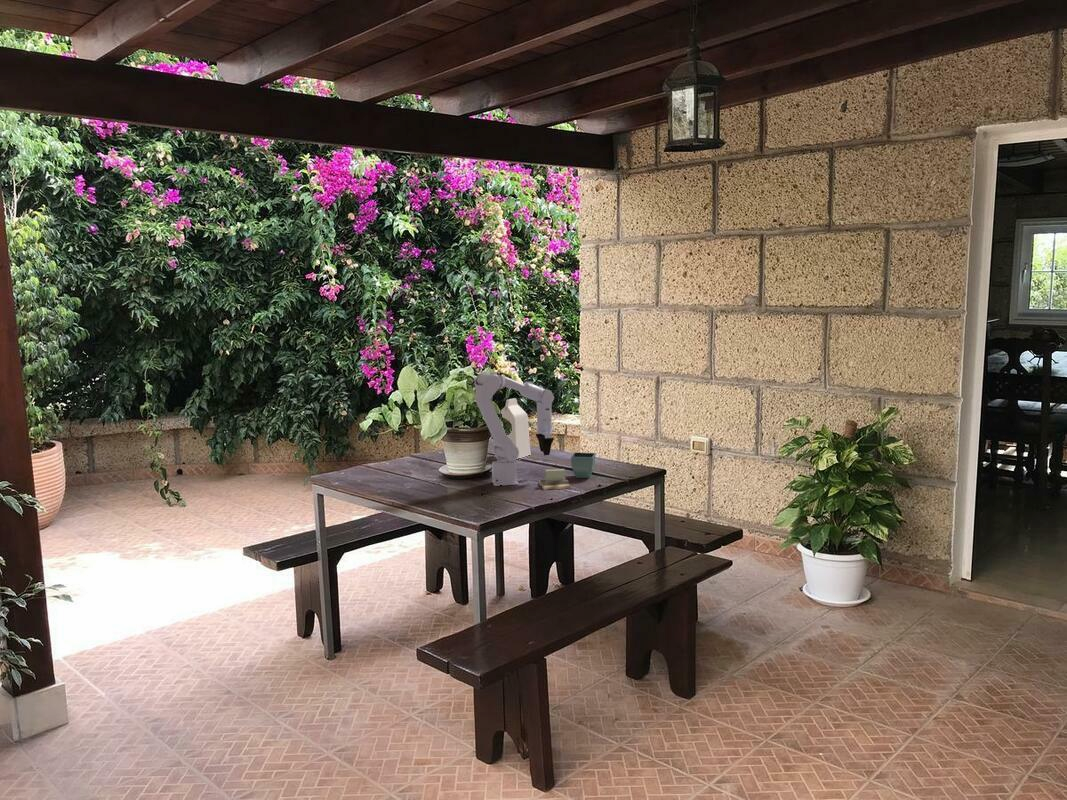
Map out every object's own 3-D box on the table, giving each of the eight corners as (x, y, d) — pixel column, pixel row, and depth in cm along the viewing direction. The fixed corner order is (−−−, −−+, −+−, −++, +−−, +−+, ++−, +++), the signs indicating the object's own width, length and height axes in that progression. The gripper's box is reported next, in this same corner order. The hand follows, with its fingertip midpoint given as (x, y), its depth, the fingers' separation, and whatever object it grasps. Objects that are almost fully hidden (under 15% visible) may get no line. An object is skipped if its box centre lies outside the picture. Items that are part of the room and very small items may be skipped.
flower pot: (593, 479, 338) (592, 457, 337) (570, 479, 340) (570, 456, 338) (596, 474, 346) (595, 452, 345) (574, 474, 348) (574, 452, 347)
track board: (543, 489, 322) (543, 484, 322) (538, 482, 334) (538, 477, 334) (570, 488, 324) (570, 482, 324) (564, 481, 336) (564, 475, 335)
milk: (516, 460, 379) (515, 401, 375) (494, 458, 385) (493, 400, 381) (530, 455, 389) (529, 398, 385) (509, 453, 395) (508, 396, 391)
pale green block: (546, 484, 327) (546, 471, 327) (545, 482, 330) (545, 469, 329) (564, 483, 328) (564, 470, 328) (563, 481, 331) (563, 468, 330)
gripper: (557, 421, 333) (558, 456, 335) (551, 416, 347) (551, 449, 349) (539, 422, 332) (540, 457, 334) (533, 416, 346) (534, 450, 348)
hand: (545, 453), depth 341 cm, fingers open, 7 cm apart
